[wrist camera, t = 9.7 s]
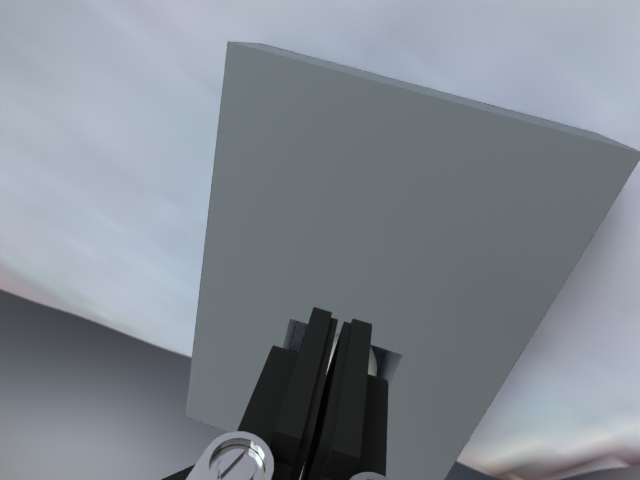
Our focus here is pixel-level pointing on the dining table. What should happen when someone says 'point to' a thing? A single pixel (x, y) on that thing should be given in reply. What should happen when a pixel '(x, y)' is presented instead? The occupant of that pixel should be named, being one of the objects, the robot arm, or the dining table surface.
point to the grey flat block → (387, 238)
